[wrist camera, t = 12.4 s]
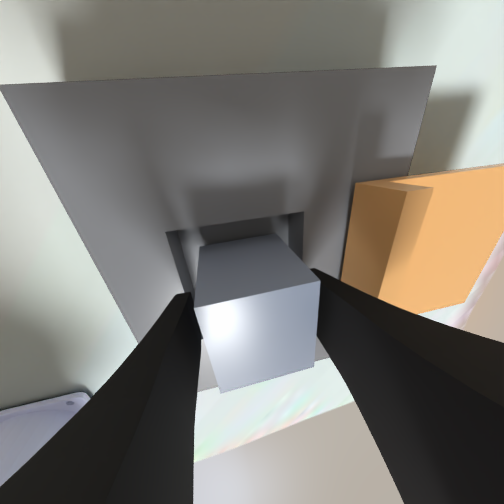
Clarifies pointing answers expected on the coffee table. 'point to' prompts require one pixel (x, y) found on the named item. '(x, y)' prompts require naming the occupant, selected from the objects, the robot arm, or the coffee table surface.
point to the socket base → (216, 167)
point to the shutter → (424, 236)
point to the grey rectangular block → (256, 310)
